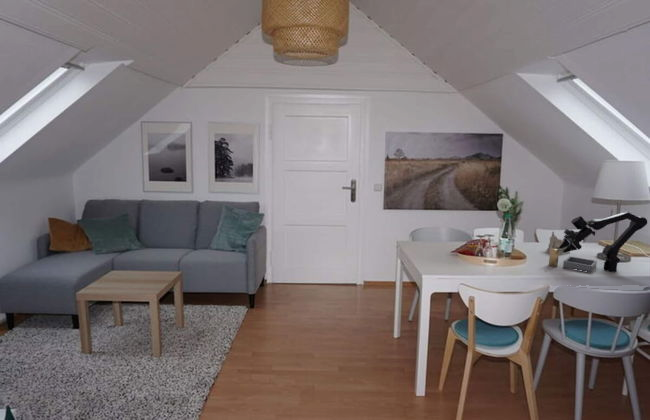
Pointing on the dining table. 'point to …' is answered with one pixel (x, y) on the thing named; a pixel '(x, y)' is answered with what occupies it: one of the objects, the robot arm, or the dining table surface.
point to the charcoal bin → (580, 264)
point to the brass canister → (553, 257)
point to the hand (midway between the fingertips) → (561, 250)
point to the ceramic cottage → (556, 245)
